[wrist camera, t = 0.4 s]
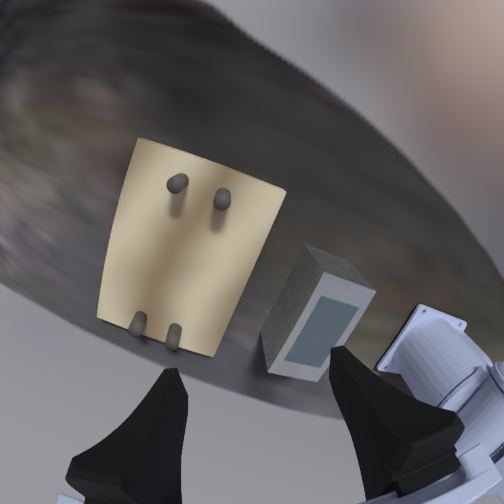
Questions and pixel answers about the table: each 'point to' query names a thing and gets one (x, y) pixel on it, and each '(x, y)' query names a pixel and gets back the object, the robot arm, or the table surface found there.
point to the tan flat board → (183, 246)
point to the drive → (313, 314)
